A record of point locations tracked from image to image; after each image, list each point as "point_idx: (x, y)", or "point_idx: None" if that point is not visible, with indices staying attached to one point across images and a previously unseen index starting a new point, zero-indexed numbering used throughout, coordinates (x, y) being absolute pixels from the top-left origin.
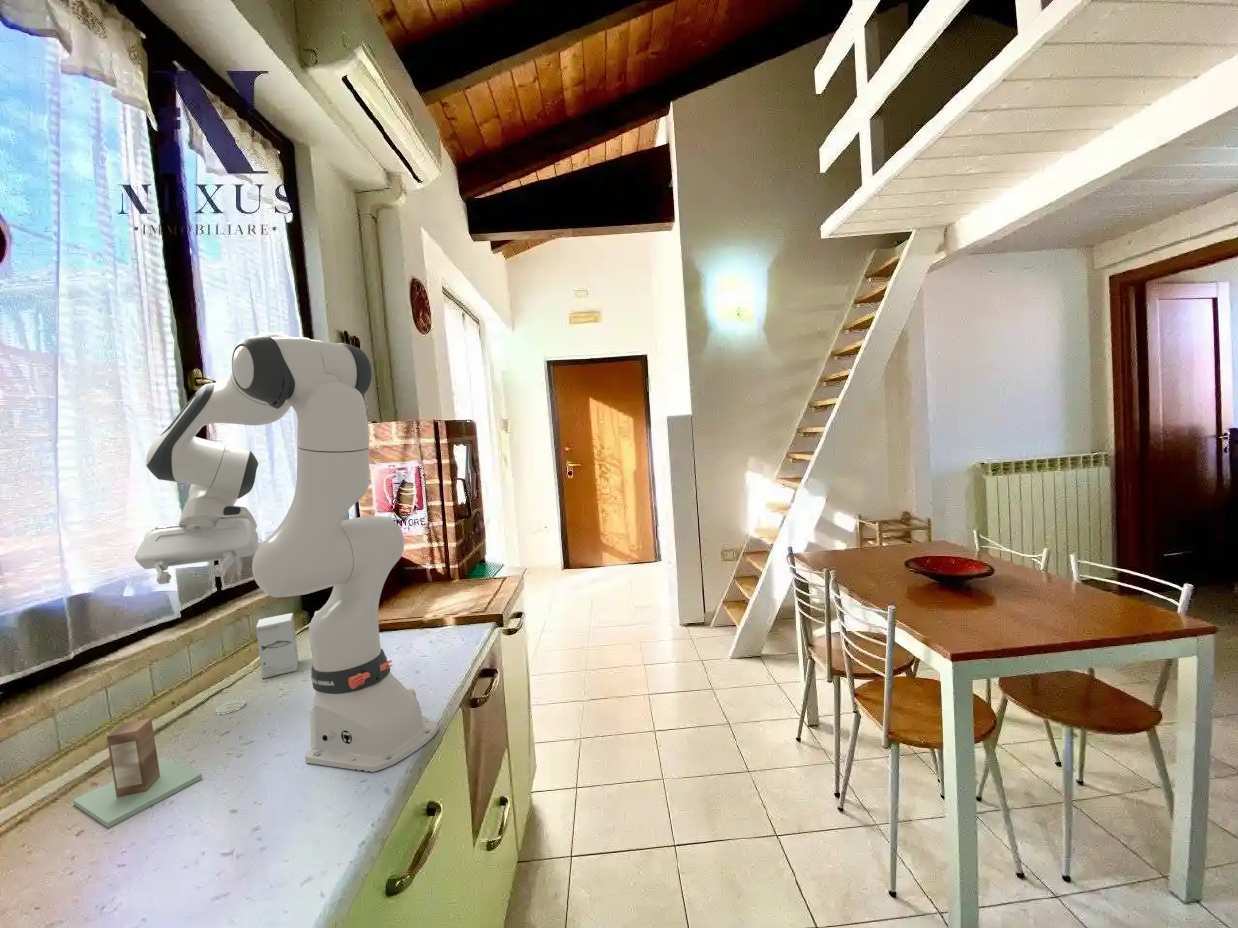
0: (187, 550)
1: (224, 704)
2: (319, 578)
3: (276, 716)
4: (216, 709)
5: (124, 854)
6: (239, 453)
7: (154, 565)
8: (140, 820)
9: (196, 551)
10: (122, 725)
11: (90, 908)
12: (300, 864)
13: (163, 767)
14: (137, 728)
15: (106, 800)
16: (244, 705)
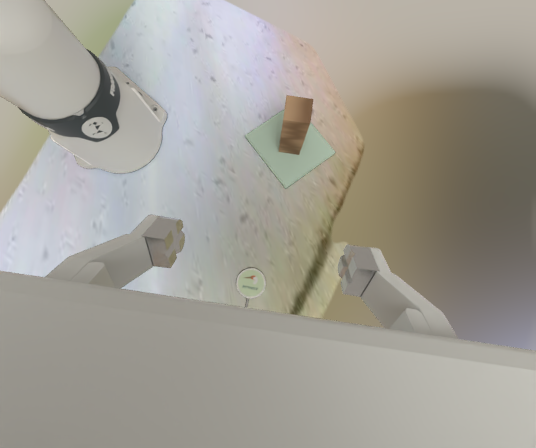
0: (288, 340)
1: (259, 293)
2: None
3: (199, 227)
4: (264, 282)
5: (271, 69)
6: None
7: (440, 312)
8: (274, 103)
9: (228, 311)
10: (307, 118)
11: (272, 29)
12: (166, 5)
13: (280, 166)
14: (288, 100)
15: (308, 136)
16: (237, 279)
